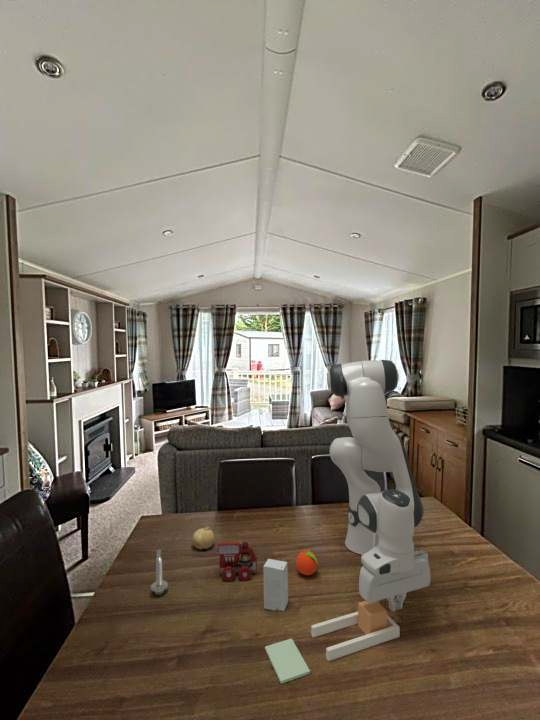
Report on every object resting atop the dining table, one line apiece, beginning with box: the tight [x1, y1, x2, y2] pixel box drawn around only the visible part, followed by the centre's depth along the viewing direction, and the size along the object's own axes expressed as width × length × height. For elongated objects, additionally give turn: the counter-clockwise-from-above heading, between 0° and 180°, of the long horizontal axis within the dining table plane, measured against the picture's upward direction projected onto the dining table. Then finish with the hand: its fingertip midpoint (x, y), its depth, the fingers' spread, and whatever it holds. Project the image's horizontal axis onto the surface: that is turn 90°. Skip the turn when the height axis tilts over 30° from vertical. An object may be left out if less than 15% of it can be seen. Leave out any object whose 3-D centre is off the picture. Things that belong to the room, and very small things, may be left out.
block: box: [357, 600, 388, 635], centre depth 94 cm, size 5×5×6 cm
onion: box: [191, 524, 216, 551], centre depth 136 cm, size 8×8×7 cm
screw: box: [150, 549, 169, 596], centre depth 110 cm, size 13×5×5 cm
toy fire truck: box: [217, 540, 258, 582], centre depth 119 cm, size 7×12×10 cm, turn 93°
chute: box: [310, 611, 401, 662], centre depth 93 cm, size 20×8×3 cm, turn 111°
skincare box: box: [262, 558, 289, 612], centre depth 104 cm, size 6×4×12 cm
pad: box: [264, 637, 312, 685], centre depth 87 cm, size 10×10×1 cm
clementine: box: [295, 550, 319, 576], centre depth 119 cm, size 8×7×7 cm
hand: (395, 608), depth 97 cm, fingers closed
